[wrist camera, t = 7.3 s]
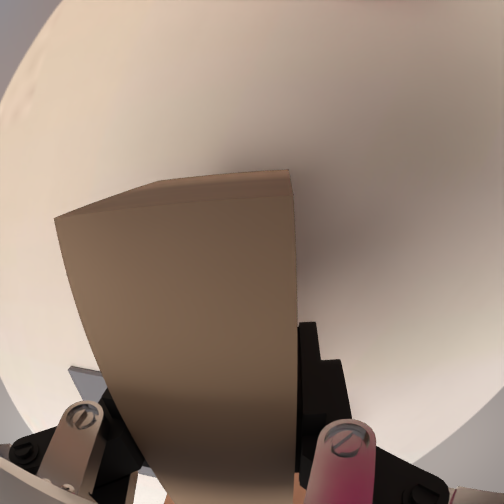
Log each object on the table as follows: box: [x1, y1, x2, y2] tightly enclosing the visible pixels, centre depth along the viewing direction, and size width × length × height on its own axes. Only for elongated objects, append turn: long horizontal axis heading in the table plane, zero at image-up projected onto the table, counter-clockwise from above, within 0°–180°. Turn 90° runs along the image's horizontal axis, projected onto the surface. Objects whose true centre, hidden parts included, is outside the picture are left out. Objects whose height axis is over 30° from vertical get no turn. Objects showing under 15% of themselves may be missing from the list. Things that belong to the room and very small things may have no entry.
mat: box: [68, 366, 157, 478], centre depth 22 cm, size 9×15×1 cm, turn 4°
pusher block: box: [54, 170, 297, 504], centre depth 9 cm, size 12×4×5 cm, turn 4°
